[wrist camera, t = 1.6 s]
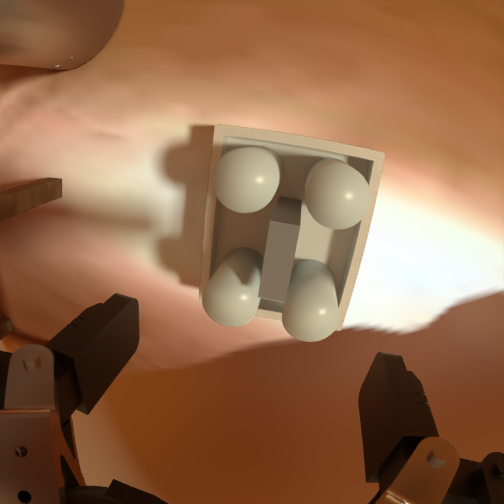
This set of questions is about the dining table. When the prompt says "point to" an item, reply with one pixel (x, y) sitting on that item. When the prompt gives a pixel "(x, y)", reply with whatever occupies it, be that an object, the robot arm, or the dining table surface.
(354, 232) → the tray
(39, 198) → the counter shelf
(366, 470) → the robot arm
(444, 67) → the dining table surface
